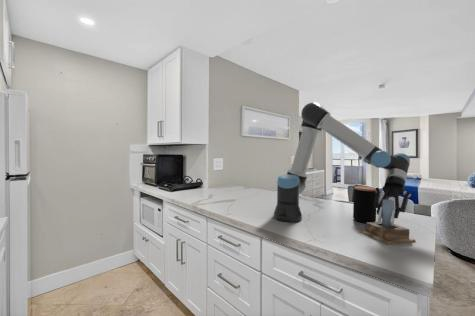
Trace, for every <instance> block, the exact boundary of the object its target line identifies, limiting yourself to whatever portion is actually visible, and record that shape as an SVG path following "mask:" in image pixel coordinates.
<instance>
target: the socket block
mask: <svg viewBox="0 0 475 316" xmlns="http://www.w3.org/2000/svg"><path fill="white" fill-rule="evenodd" d="M365 225H366V226H365V229H362V230H361V229H360V233H362V234H364V235H366V236H368V237H370V238H373V239H375V240H377V241H379V242H382V243H384V244H386V245H396V244H397V245H398V244H405V243H406V244H408V243H416V239H414V238H411V237H410V229H409V228H406V227H404V226H400V225H399V224H395V223H394V224H393V228H388V229H387V228H385V227H382V221H381V223H378V221H375V222H367V223H365Z"/></svg>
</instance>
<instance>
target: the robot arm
mask: <svg viewBox="0 0 475 316" xmlns="http://www.w3.org/2000/svg"><path fill="white" fill-rule="evenodd" d="M301 119H302V122H301V125H300V128H301V129H302V132H301V133H300V134H301V135H300V137H299V140H298V141H299V142H298V144H297V148H296V151H295V155H294V157H293V158H294V159H293V161H292V164H291V165H292V166H291V168H290V169H288V170H287V173H286V174H281V175H279V176H278V177H277V181H276V183H277V188H276V189H277V190H276V191H277V193H276V195H277V197H276V200H277V201H276V206H275V208H274V212H273V219H274V220H276V221H279V222H284V223H285V222H286V223H296V222H301V221H302V219H303V215H302V212H301V208H300V194H302V193H303V192H304V190H305V188H306V183H307V182H306V181H307V178H308V175H307V174H306V173H307V170H308V166H309V162H310V159H311V155H312V152H313V149H314V146H315V143H316V139H317V137H318V135H319V133H321V132H322V131H324V132H326V133H327V134H328V135H330V136H331V137H333V138H334V139H335V140H337V141H339V142H340V143H341V144H343V145H344V146H345V147H347V148H349V149H350V150H352V151H353V152H354V153H356V154H357V155H359V156H360V157H361V158H363V160H362V162H363V163H365V164H368V165H371V166H374V167H376V168H379V169H384V170H387V171H388V172H387V175H386V177H385V182H384V185H383V186H382V188H379V187H375V188H376V196H375V201H374V206H375V208H376V216H377V217H376V221H377V222H378V223H381V222H382V204H383V199H386V200H390V199H389V198H394V205H395V207H394V208H393V211H392V216H391V220H390V223H391V225H393V224H395V221H396V220H395V219H398V218H399V215H400V213H405V212H406V210H407V205H408V202H409V199H410V198H411V196H412V194H411V191H410V190H405V185H406V181H407V177H408V171H409V168H410V164H411V163H410V162H411V160H410V159H411V158H410V156H408V155H407V154H405V153H399V152H398V153H394V154H390V153H388V152H387V151H385V150H383V149H381V148H380V147H378V146H377V145H375V144H374V143H372V142H371V141H369V140H368V139H366V138H365V137H363V136H361V134H359V133H357V132H356V131H354V130H352V129H351V128H350V127H348V126H347V125H345V124H344V123H342V122H341V121H339V120H338V119H336V118H335V117H333V116H332V115H331V112H329V111H328V110H327V109H326V108H324V107H323V106H322V105H321V104H320V103H317V102H309V103H307V104H305V105H304V106H303V107H302V109H301ZM382 192H383V193H382ZM381 194H383V196H382V197H381ZM402 195H403V199H402V203H401V205H400V198H399V197H400V196H402ZM380 199H381V200H380Z"/></svg>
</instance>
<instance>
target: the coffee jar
mask: <svg viewBox="0 0 475 316" xmlns="http://www.w3.org/2000/svg"><path fill="white" fill-rule="evenodd" d="M376 188H377V187H373V186H363V185H357V186H356V185H355V186H354V187H353V189H354V191H353V209H352V211H353V213H352V218H353V220H354V221H356V222H357V223H361V224H366V223H367V222H377V208H375V206H374V201H375V196H376V192H377V191H376Z"/></svg>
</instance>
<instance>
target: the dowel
mask: <svg viewBox="0 0 475 316" xmlns="http://www.w3.org/2000/svg"><path fill="white" fill-rule="evenodd" d="M394 205H395V200H392V199H388V200H386V199H383V204H382V219H381V222H382V227H385V228H387V229H388V228H393V225H391V223H390V220H391V216H392V211H393V209H395V207H394Z"/></svg>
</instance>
